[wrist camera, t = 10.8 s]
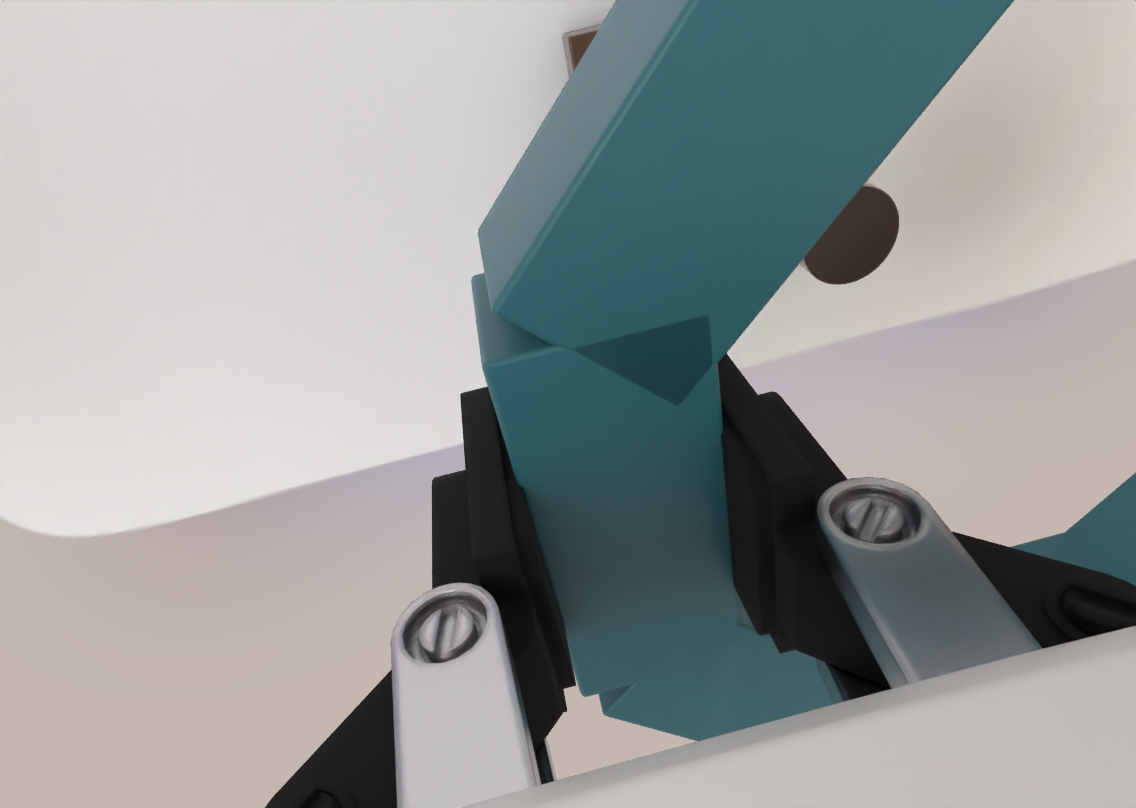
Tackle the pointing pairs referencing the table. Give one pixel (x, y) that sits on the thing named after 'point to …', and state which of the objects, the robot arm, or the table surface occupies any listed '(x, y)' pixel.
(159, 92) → the table surface
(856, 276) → the holder
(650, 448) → the ring
